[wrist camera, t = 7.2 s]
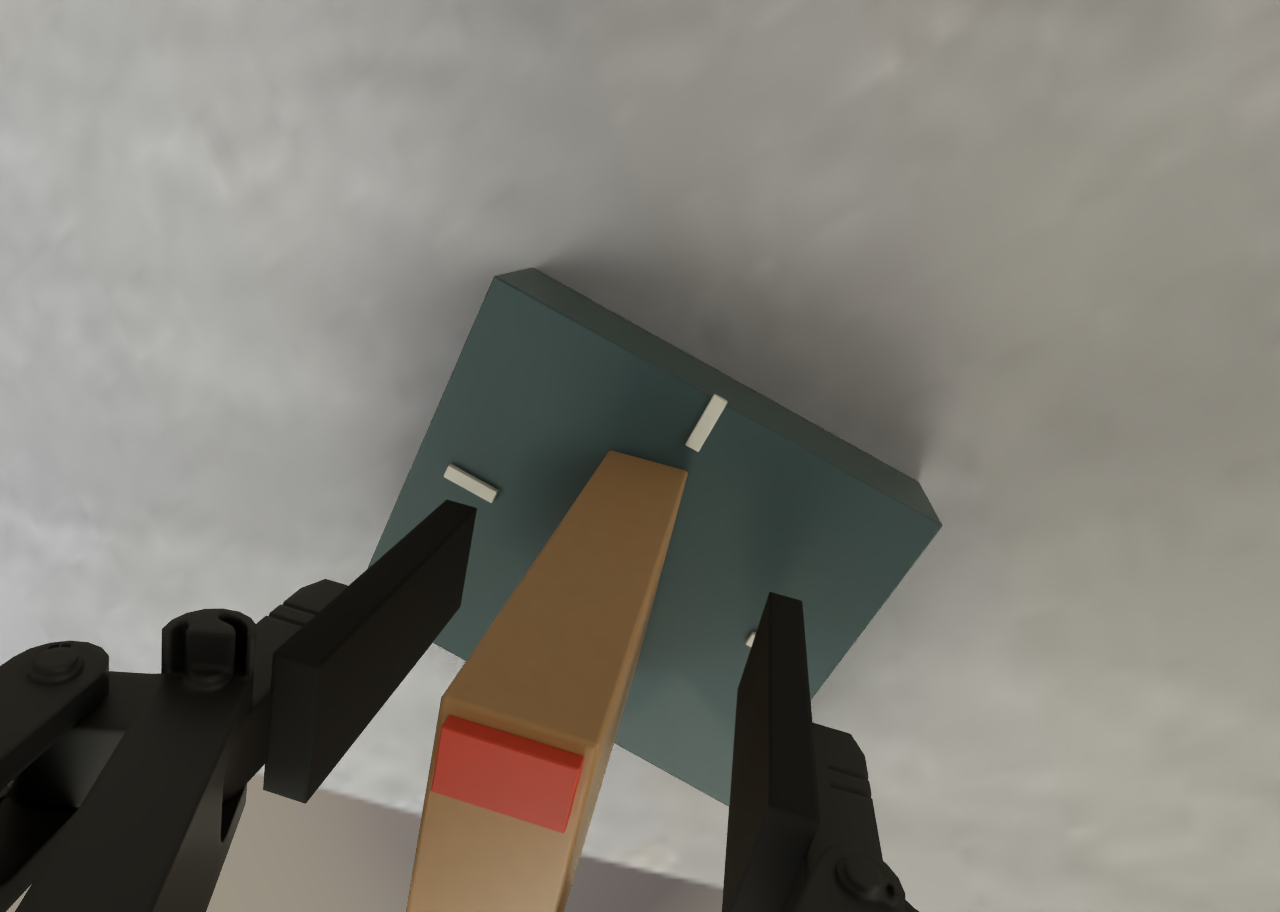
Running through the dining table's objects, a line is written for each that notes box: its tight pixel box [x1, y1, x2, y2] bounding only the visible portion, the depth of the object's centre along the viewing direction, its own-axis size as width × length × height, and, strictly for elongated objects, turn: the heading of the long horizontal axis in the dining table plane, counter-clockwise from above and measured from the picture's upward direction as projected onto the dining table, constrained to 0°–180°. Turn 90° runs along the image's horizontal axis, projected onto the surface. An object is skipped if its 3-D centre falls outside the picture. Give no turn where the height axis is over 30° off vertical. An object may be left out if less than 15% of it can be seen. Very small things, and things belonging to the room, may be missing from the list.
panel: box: [368, 268, 942, 806], centre depth 21 cm, size 12×10×3 cm
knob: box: [406, 450, 688, 912], centre depth 14 cm, size 6×2×10 cm, turn 167°
